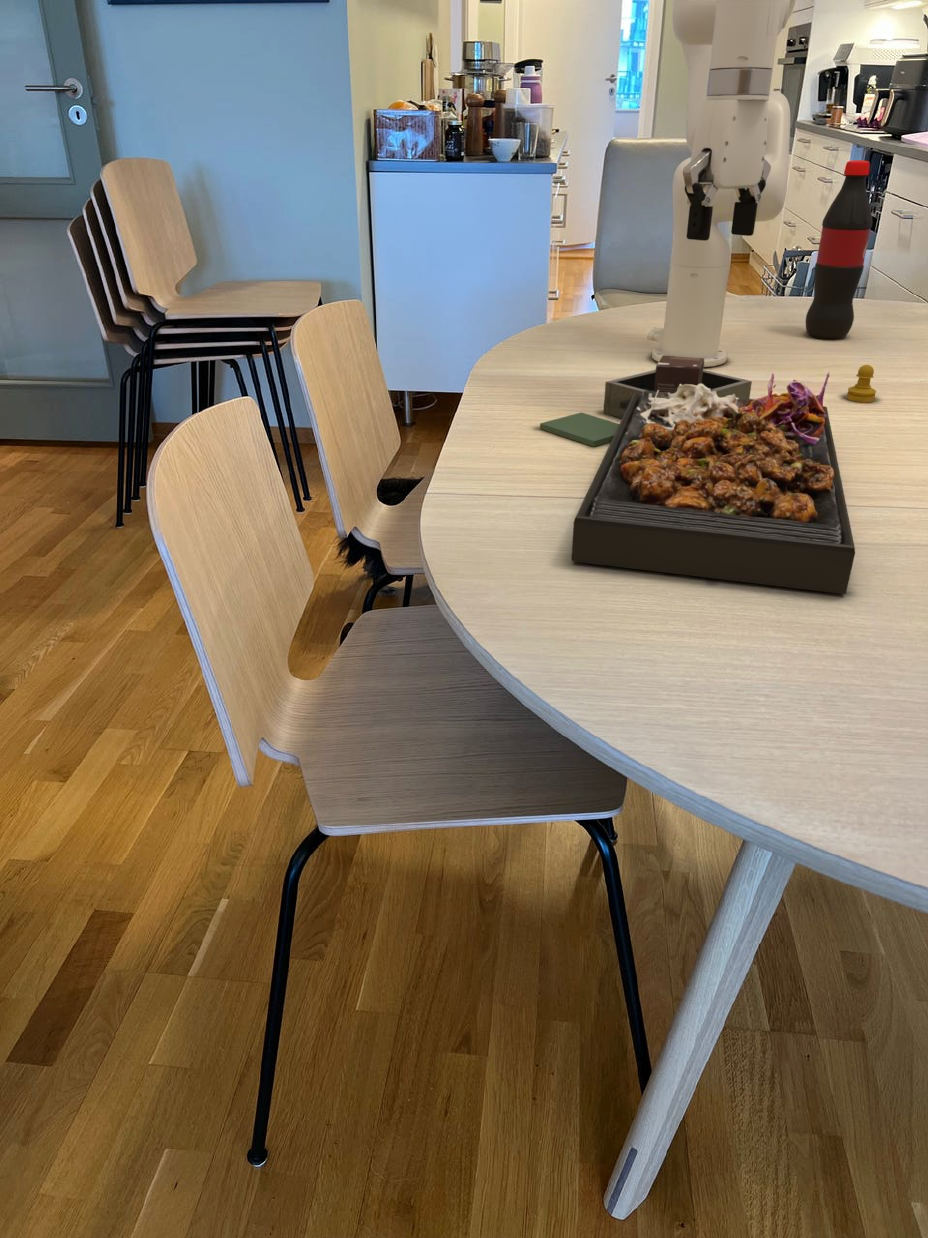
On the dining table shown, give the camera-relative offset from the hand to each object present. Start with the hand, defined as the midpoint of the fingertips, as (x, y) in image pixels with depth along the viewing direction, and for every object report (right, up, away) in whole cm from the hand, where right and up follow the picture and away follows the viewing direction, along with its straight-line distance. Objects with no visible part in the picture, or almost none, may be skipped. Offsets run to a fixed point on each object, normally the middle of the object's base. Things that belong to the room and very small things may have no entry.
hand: (720, 237), depth 121 cm
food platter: (-6, -36, -18) cm, 41 cm away
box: (-4, -21, +10) cm, 24 cm away
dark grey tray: (-4, -21, +10) cm, 24 cm away
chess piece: (+25, -18, +16) cm, 35 cm away
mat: (-17, -25, +2) cm, 31 cm away
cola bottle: (+35, +3, +54) cm, 64 cm away
